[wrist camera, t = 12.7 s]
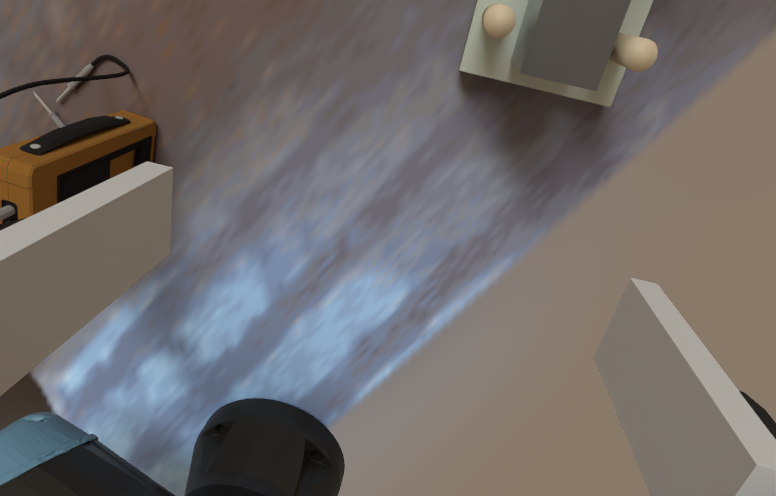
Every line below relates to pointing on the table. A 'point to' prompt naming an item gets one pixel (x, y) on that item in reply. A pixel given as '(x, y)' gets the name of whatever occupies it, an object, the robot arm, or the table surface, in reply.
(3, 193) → the multimeter
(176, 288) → the table surface
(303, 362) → the table surface
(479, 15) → the peg rack
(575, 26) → the long grey bar
